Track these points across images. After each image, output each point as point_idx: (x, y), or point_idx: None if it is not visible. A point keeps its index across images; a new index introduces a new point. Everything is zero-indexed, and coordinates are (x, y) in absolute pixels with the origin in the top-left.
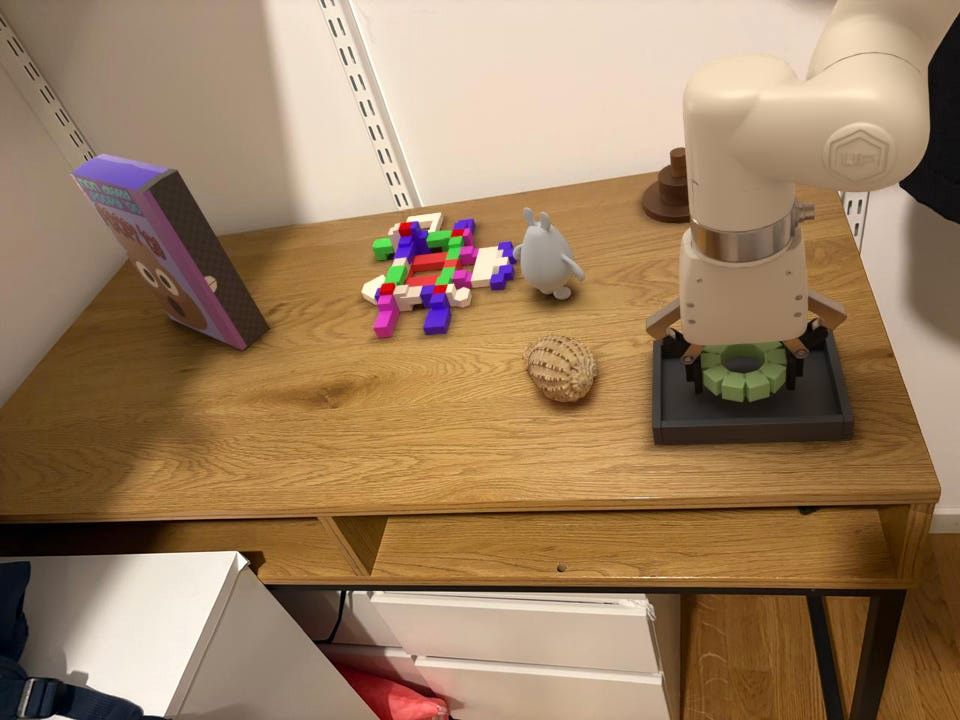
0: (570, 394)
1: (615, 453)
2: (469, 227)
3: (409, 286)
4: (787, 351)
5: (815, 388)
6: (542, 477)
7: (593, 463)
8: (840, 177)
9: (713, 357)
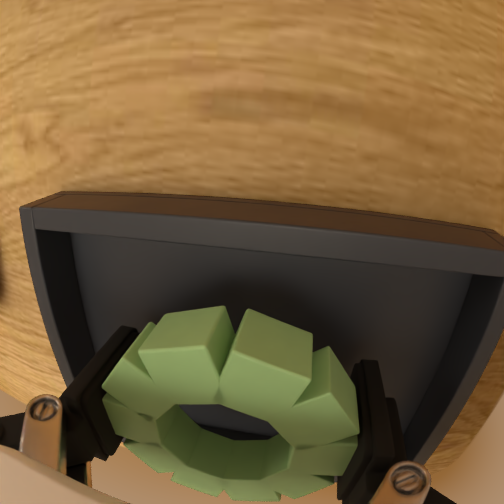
0: None
1: (64, 389)
2: None
3: None
4: (351, 487)
5: (407, 369)
6: (15, 386)
7: (48, 392)
8: None
9: (138, 422)
